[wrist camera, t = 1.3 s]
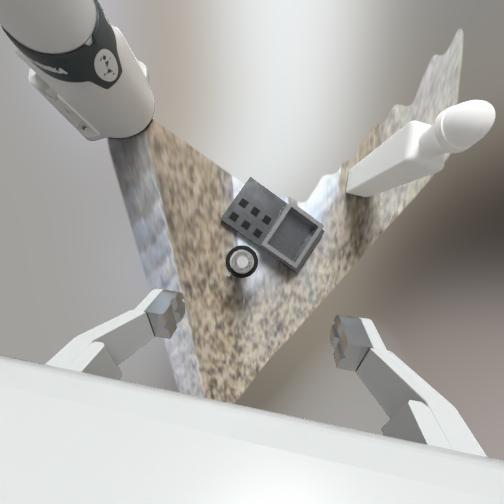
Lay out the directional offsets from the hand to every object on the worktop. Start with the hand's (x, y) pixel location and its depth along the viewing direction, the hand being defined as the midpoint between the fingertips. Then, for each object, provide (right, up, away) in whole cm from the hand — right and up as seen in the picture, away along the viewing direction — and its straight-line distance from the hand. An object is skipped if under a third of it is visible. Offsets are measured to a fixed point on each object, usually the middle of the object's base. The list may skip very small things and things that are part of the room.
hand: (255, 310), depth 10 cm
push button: (-3, +1, +30) cm, 30 cm away
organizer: (+4, +9, +31) cm, 32 cm away
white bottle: (+25, +19, +33) cm, 46 cm away
